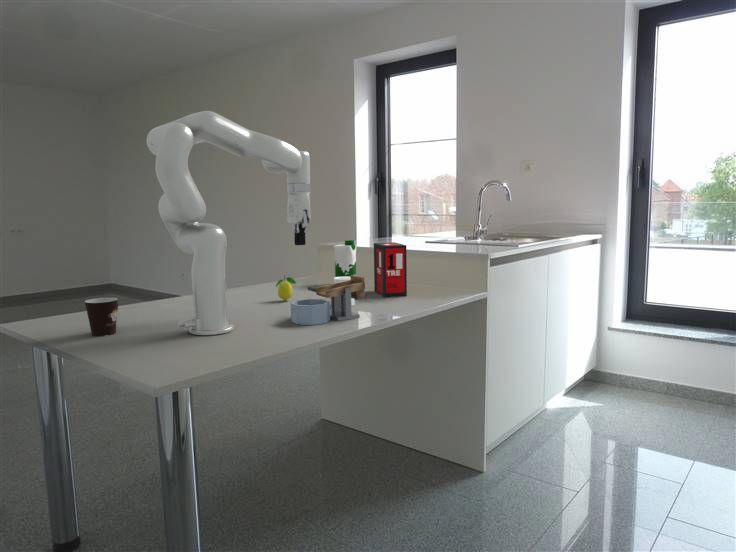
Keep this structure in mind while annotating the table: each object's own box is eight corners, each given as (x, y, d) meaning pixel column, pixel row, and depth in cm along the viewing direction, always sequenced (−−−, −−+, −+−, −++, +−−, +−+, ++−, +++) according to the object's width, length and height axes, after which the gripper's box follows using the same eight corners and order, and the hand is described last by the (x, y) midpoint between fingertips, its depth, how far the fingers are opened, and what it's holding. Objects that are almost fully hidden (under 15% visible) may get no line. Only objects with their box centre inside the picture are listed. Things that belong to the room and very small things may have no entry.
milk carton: (350, 287, 245) (350, 241, 242) (332, 286, 248) (331, 241, 246) (359, 284, 253) (358, 239, 250) (341, 283, 256) (340, 239, 254)
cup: (302, 326, 169) (301, 307, 168) (287, 320, 179) (286, 301, 178) (335, 321, 175) (334, 302, 174) (318, 315, 185) (318, 297, 184)
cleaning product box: (374, 291, 233) (373, 243, 230) (395, 289, 235) (394, 242, 232) (384, 297, 217) (384, 246, 214) (406, 296, 219) (406, 245, 216)
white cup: (353, 307, 198) (352, 279, 197) (331, 307, 200) (331, 279, 198) (358, 303, 206) (357, 276, 204) (337, 302, 207) (336, 276, 206)
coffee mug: (99, 338, 158) (96, 303, 157) (81, 335, 163) (78, 301, 162) (135, 330, 168) (132, 297, 167) (117, 327, 173) (115, 295, 171)
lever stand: (337, 320, 176) (337, 289, 175) (323, 315, 185) (322, 285, 183) (359, 317, 180) (359, 287, 179) (344, 312, 189) (343, 283, 187)
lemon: (297, 301, 212) (296, 275, 211) (282, 303, 209) (281, 276, 207) (289, 298, 217) (288, 273, 216) (275, 300, 214) (274, 274, 213)
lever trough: (328, 307, 175) (325, 286, 174) (309, 300, 187) (306, 281, 186) (366, 297, 182) (364, 277, 181) (345, 292, 194) (343, 273, 193)
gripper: (280, 189, 189) (281, 244, 191) (296, 188, 176) (298, 246, 178) (300, 190, 192) (301, 243, 195) (318, 188, 179) (319, 245, 182)
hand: (300, 244), depth 186 cm, fingers closed
